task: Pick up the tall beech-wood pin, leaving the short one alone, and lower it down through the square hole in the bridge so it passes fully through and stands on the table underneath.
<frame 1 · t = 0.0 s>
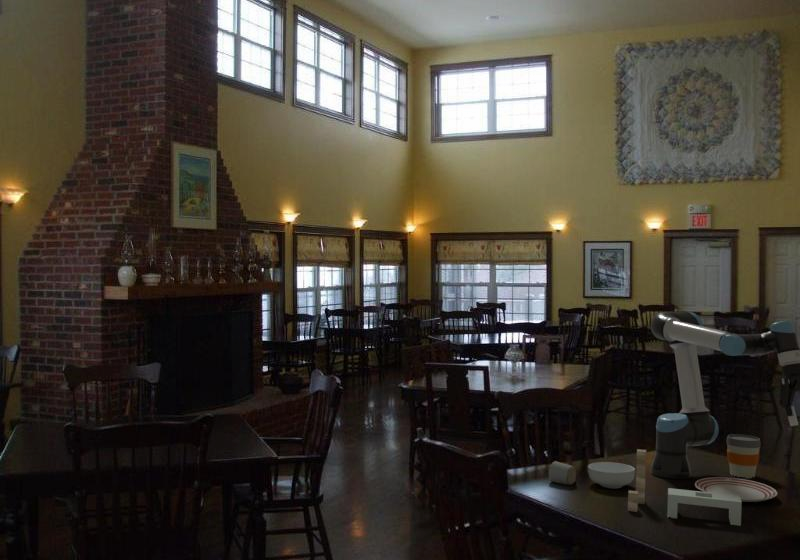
dinner plate: (735, 496, 292), on the table
tall pin: (639, 502, 279), on the table
short pin: (632, 510, 270), on the table
bridge: (703, 517, 263), on the table
reusable coffee cup: (742, 475, 321), on the table
ceramic mug: (563, 483, 303), on the table
cereal bowl: (610, 486, 300), on the table
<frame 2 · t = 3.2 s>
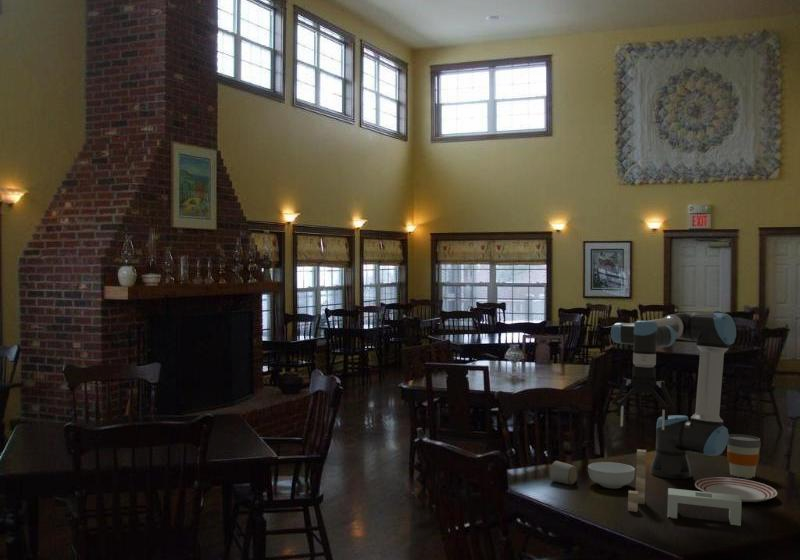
hand: (642, 427, 279), 26 cm above the table, tool pointing down, fingers open, 13 cm apart
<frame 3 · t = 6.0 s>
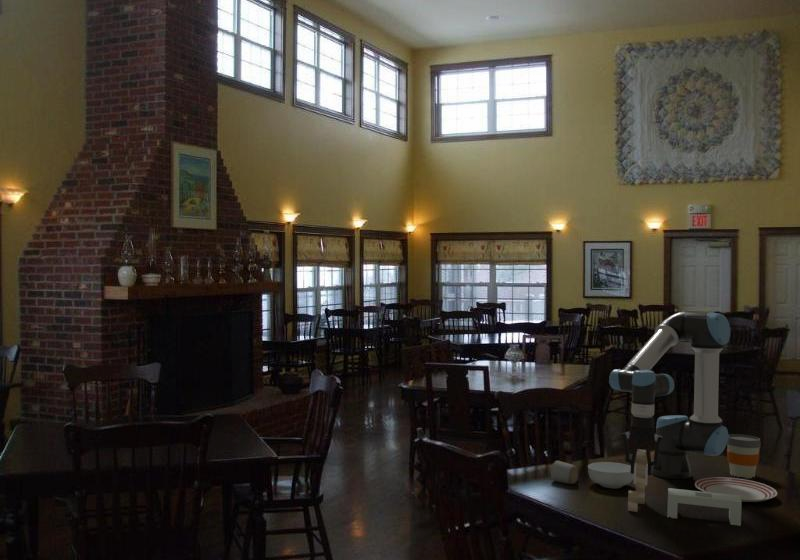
hand: (640, 483, 279), 7 cm above the table, tool pointing down, fingers closed on tall pin, 3 cm apart
tall pin: (639, 502, 279), on the table, touching gripper
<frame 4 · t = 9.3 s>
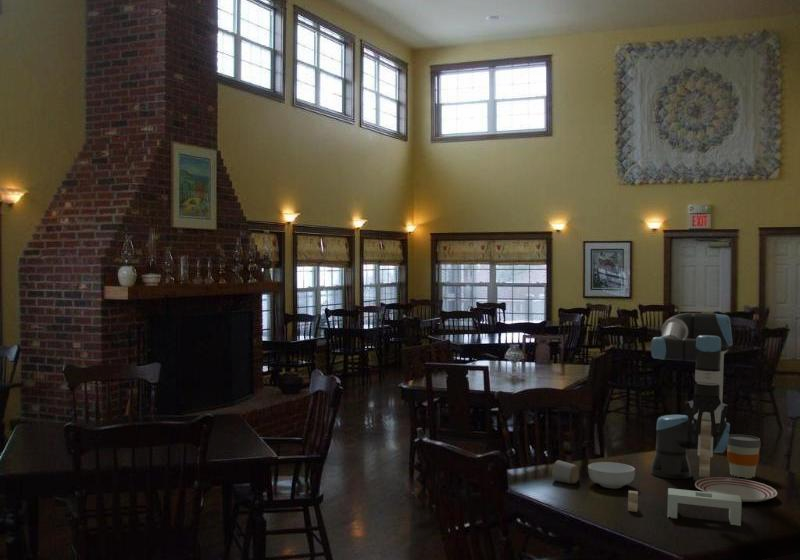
hand: (705, 455, 263), 20 cm above the table, tool pointing down, fingers closed on tall pin, 3 cm apart
tall pin: (704, 475, 263), point 14 cm above the table, touching gripper
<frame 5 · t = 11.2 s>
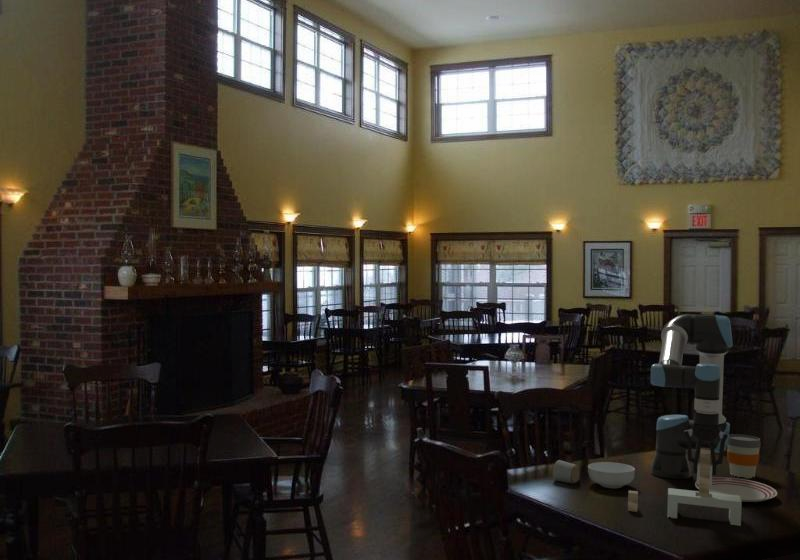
hand: (704, 484, 263), 11 cm above the table, tool pointing down, fingers closed on tall pin, 3 cm apart
tall pin: (703, 504, 263), point 5 cm above the table, touching gripper
when the fingers open (10 cm above the table, at t = 12.6 s): tall pin drops 3 cm, on the table.
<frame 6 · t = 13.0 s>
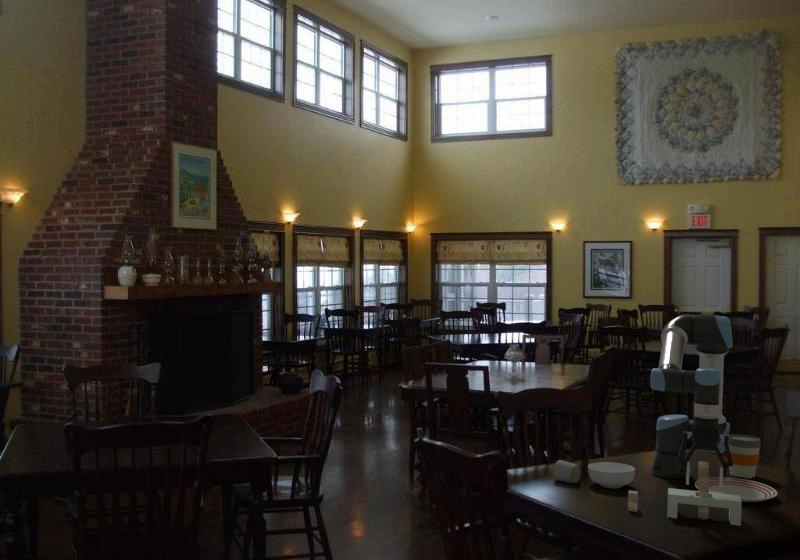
hand: (704, 485, 263), 11 cm above the table, tool pointing down, fingers open, 9 cm apart
tall pin: (703, 517, 263), on the table
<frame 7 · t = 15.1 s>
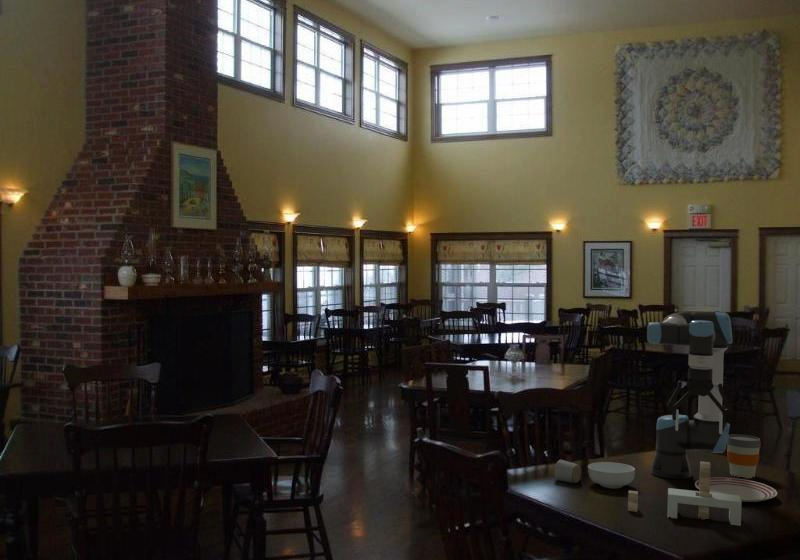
hand: (698, 431, 268), 27 cm above the table, tool pointing down, fingers open, 13 cm apart
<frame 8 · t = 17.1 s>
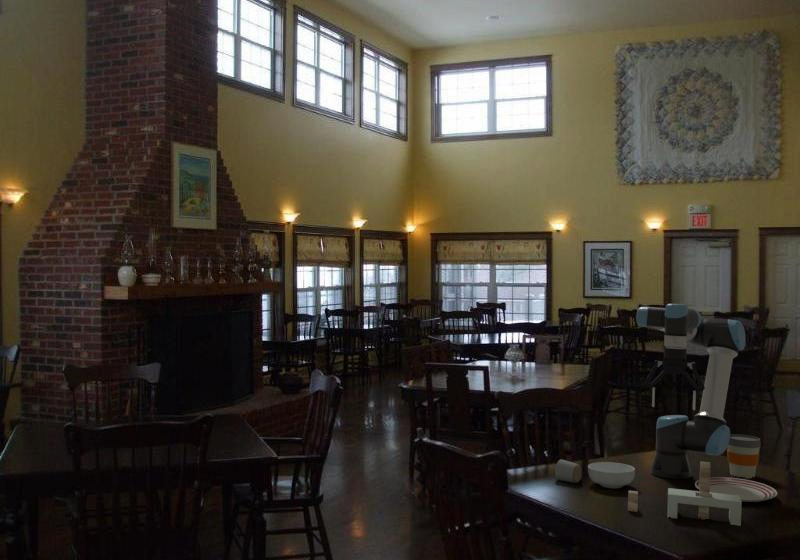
hand: (673, 408, 286), 32 cm above the table, tool pointing down, fingers open, 13 cm apart
at the end: tall pin 0.1 cm off-centre on the bridge, point 0.0 cm above the bridge's base; tall pin tilted 0°; short pin moved 0.0 cm from its start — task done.
